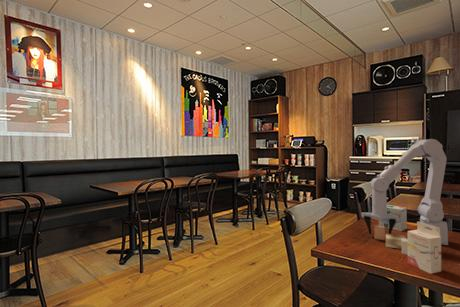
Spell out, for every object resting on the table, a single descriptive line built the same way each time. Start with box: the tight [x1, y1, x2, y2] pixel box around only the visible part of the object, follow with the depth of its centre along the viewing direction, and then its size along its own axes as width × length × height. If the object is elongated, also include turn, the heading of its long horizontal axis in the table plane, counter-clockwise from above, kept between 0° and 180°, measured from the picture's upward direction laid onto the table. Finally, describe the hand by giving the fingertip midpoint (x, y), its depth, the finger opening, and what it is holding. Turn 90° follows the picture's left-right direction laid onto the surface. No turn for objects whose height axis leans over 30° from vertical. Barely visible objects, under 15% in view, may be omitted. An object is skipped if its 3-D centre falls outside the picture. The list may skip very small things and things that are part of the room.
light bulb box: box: [378, 204, 408, 232], centre depth 134 cm, size 11×7×11 cm, turn 37°
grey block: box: [401, 237, 408, 256], centre depth 103 cm, size 4×4×5 cm
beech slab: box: [385, 232, 407, 250], centre depth 111 cm, size 7×7×4 cm
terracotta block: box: [374, 225, 386, 241], centre depth 120 cm, size 4×4×5 cm
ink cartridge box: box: [407, 221, 442, 274], centre depth 91 cm, size 9×5×15 cm, turn 17°
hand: (379, 234), depth 120 cm, fingers open, 7 cm apart
